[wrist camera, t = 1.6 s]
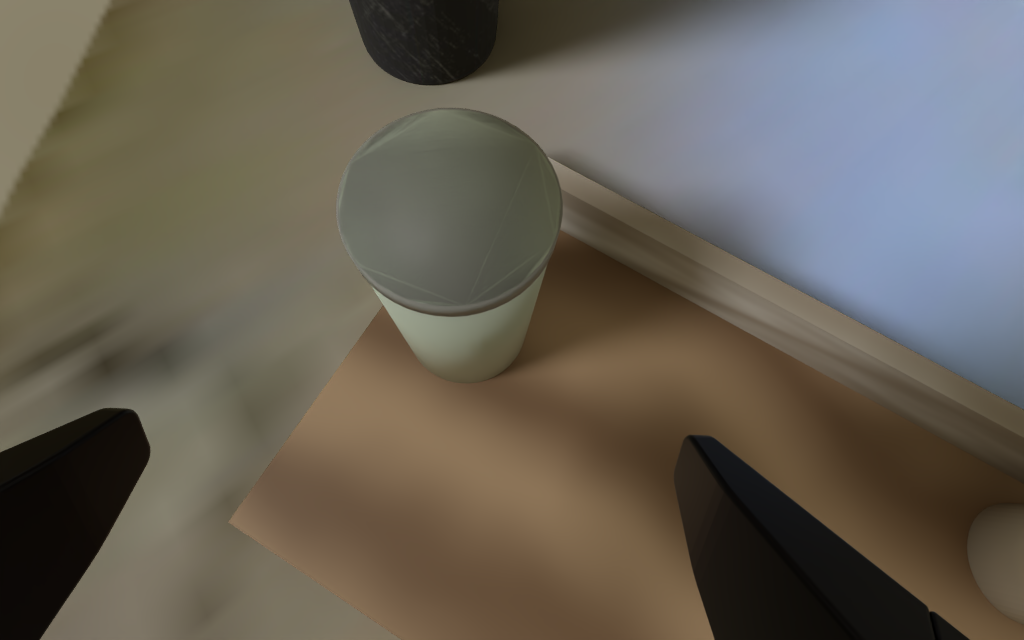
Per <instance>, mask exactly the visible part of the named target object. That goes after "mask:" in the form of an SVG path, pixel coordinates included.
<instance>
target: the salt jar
mask: <svg viewBox="0 0 1024 640" xmlns="http://www.w3.org/2000/svg"><path fill="white" fill-rule="evenodd" d="M967 554H968V560H969V565H970V568H971V571H972V574H973V576H974V579H975V581H976V583H977V584H978V586H979V588H980V590H981V591H982V593H983V594H984V595H985V597H986V598H987V599H988V600H989V602H990V603H991V604H992V605H993V606H994V607H995V608H996V609H997V610H999V611H1000V612H1001V613H1002V614H1004V615H1005V616H1007V617H1008V618H1010V619H1012V620H1014V621H1016V622H1018V623H1020V624H1023V625H1024V504H1019V503H999V504H995V505H992V506H989V507H987V508H986V509H984V510H983V511H982V512H981V513H979V514H978V516H977V517H976V518H975V519H974V521H973V523H972V525H971V527H970V530H969V534H968V539H967Z"/></svg>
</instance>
